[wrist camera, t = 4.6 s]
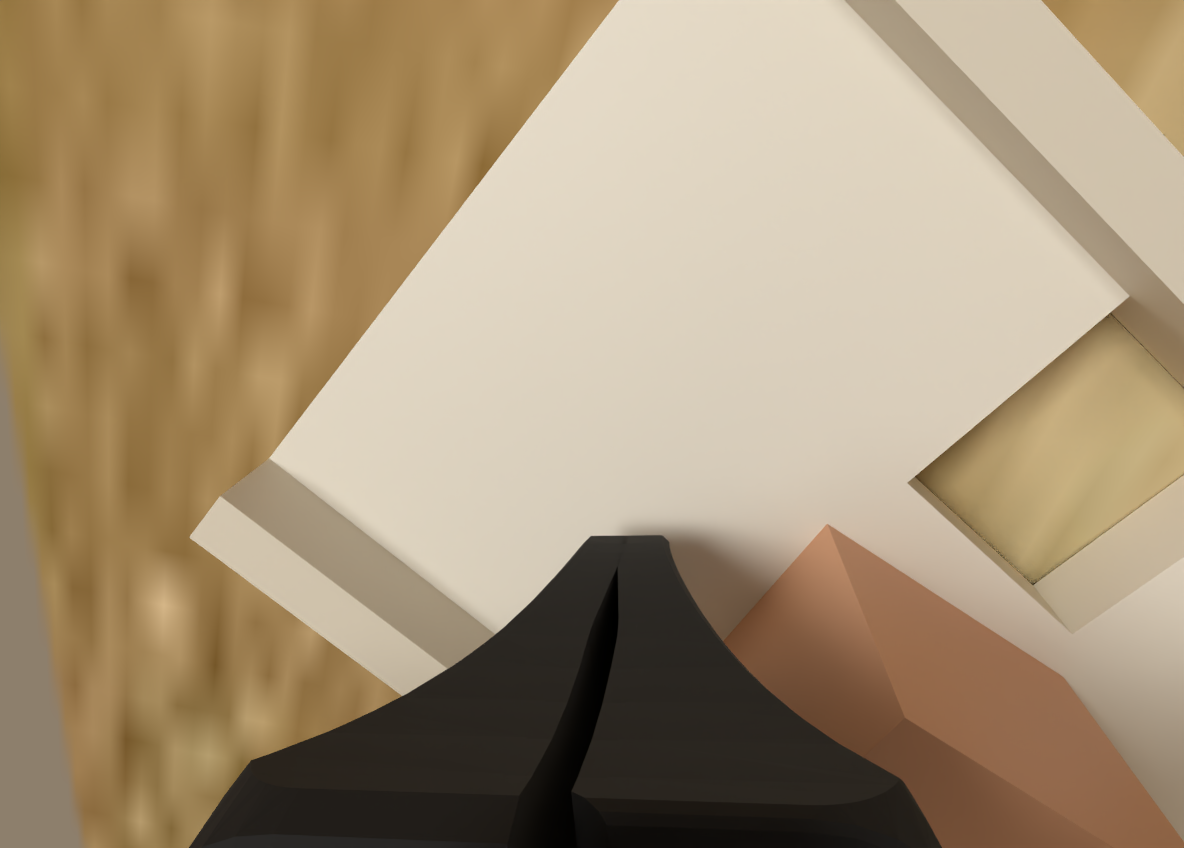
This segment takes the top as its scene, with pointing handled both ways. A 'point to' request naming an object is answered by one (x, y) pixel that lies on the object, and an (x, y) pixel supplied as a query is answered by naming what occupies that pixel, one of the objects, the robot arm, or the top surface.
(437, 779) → the robot arm
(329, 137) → the top surface
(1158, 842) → the block
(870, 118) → the lane
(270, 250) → the top surface
